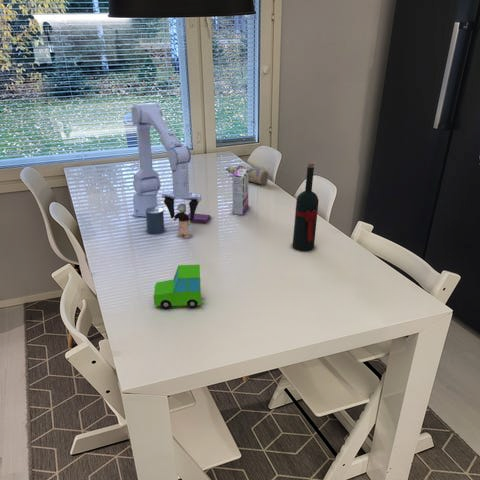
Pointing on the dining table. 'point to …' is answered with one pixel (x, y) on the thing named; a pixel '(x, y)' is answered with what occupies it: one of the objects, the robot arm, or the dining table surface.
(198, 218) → the purple box
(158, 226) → the tin can
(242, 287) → the dining table surface
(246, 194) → the candy bar box
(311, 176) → the wine bottle
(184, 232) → the grandmother figurine
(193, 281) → the toy car
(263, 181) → the decorative bottle
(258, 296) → the dining table surface
